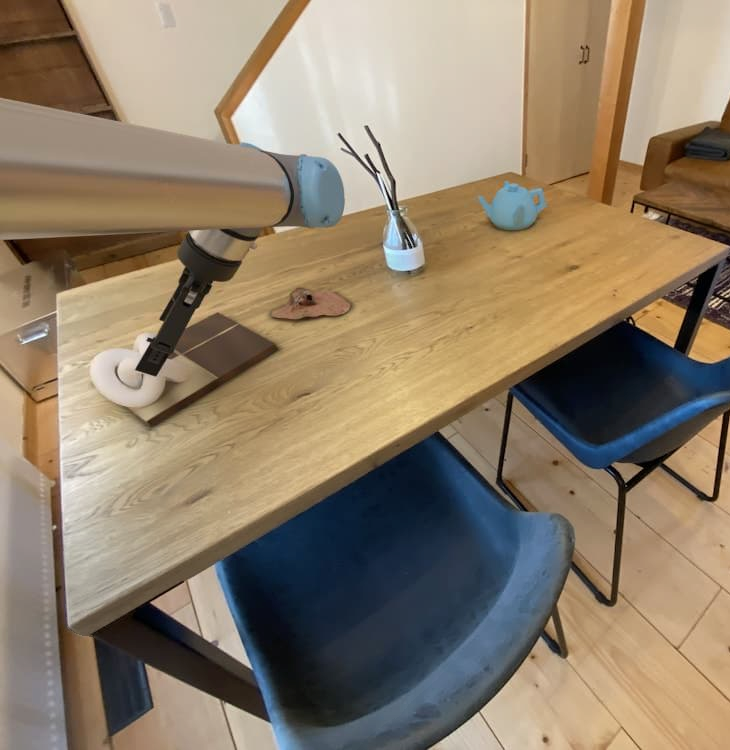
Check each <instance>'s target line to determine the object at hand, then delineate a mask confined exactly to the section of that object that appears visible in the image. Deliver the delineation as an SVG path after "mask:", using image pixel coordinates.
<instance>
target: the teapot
mask: <svg viewBox="0 0 730 750" xmlns="http://www.w3.org/2000/svg"><path fill="white" fill-rule="evenodd" d="M536 196H537V198H538V202H535V200H534V198H533V197H536ZM477 199H478V201H479V203H480V205H481V206H482V208H483V210H484V211H485V213H486V215H487V217H488V219H489V220H490V222H491V223H492V224H493V225H494V226H495V227H496V228H498V229H501V230H504V231H522V230H525V229H527V228H530V227H531V226H532V225H533V224H534V223H535V222H536V220H537V219H538V215H539V213H541V211H542V210H543V209H544V208H546V207H547V201H546V198H545V195H544V191H543V188H542V187H539V188H534V189H531V190H528V189H527V188H525V187H524V186H519V184H518V183H513V182H512V183H510V181H509V180H504V183H503V187H501V188H500V189H498V191H497V192H496V194H495V196H494V198H493V199H492V201H491V203H490V204H489V203H488V202H487V200H486V199H485V197H484V196H483V195H478V196H477Z"/></svg>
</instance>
